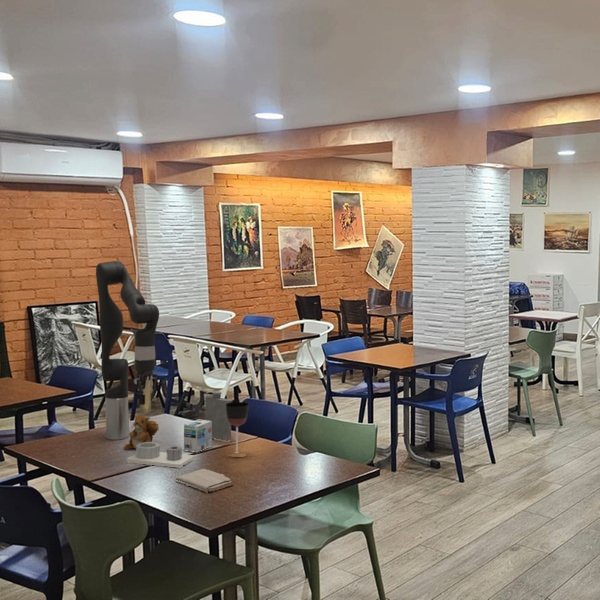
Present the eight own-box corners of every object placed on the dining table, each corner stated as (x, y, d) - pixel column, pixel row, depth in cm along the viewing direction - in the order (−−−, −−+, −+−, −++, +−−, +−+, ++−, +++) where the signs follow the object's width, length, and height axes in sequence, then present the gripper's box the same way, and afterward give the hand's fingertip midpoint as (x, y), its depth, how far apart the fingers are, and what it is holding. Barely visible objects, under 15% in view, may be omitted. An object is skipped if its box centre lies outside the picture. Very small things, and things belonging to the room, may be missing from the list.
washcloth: (208, 495, 223) (208, 486, 223) (173, 483, 235) (173, 474, 235) (235, 486, 232) (235, 477, 232) (201, 475, 244) (201, 466, 244)
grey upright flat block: (232, 441, 286) (232, 394, 284) (224, 443, 283) (224, 395, 282) (210, 434, 297) (210, 388, 296) (202, 436, 294) (202, 389, 293)
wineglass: (250, 457, 264) (251, 405, 263) (228, 459, 261) (229, 407, 260) (244, 451, 272) (244, 401, 270) (223, 453, 268) (223, 403, 267)
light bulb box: (197, 453, 268) (197, 426, 268) (183, 451, 271) (183, 424, 271) (212, 446, 278) (212, 420, 277) (198, 444, 281) (198, 418, 280)
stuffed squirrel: (121, 450, 272) (121, 417, 272) (141, 441, 286) (141, 409, 285) (143, 452, 269) (143, 419, 268) (162, 443, 283) (162, 411, 282)
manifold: (126, 462, 256) (126, 448, 256) (143, 453, 267) (143, 439, 267) (180, 468, 249) (180, 453, 249) (194, 459, 261) (194, 445, 260)
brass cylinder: (143, 410, 261) (143, 378, 260) (152, 411, 260) (152, 379, 259) (137, 412, 257) (137, 380, 257) (147, 413, 256) (146, 381, 255)
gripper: (146, 354, 265) (146, 399, 266) (125, 359, 252) (126, 406, 253) (163, 355, 263) (163, 400, 264) (143, 360, 249) (143, 407, 250)
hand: (145, 403), depth 258 cm, fingers closed on brass cylinder, 4 cm apart
